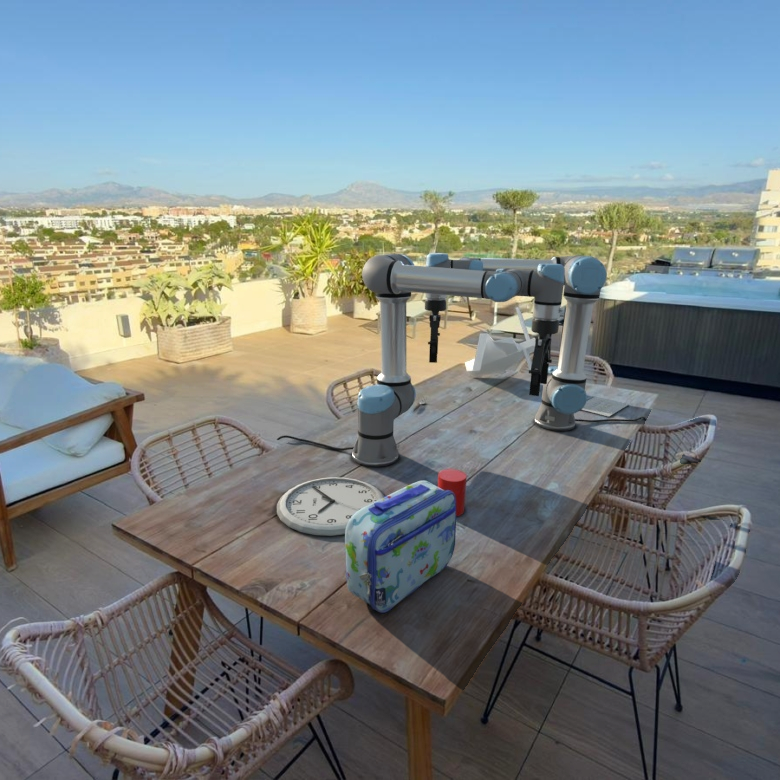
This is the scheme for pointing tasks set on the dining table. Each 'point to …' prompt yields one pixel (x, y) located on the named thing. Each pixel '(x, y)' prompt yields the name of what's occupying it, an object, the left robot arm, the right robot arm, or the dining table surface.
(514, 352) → the white plastic object
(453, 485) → the red cylinder
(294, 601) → the dining table surface
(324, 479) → the wall clock
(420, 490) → the lunch box
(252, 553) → the dining table surface
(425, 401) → the fork
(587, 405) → the invitation card
